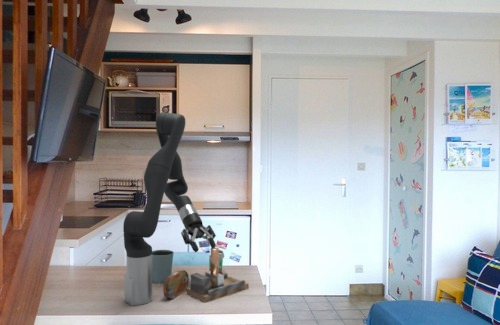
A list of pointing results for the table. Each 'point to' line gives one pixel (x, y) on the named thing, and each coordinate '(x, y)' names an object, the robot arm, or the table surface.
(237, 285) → the railed wooden base
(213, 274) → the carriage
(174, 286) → the tin
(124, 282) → the robot arm
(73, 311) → the table surface
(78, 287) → the table surface
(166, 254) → the teal cup
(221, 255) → the food container
